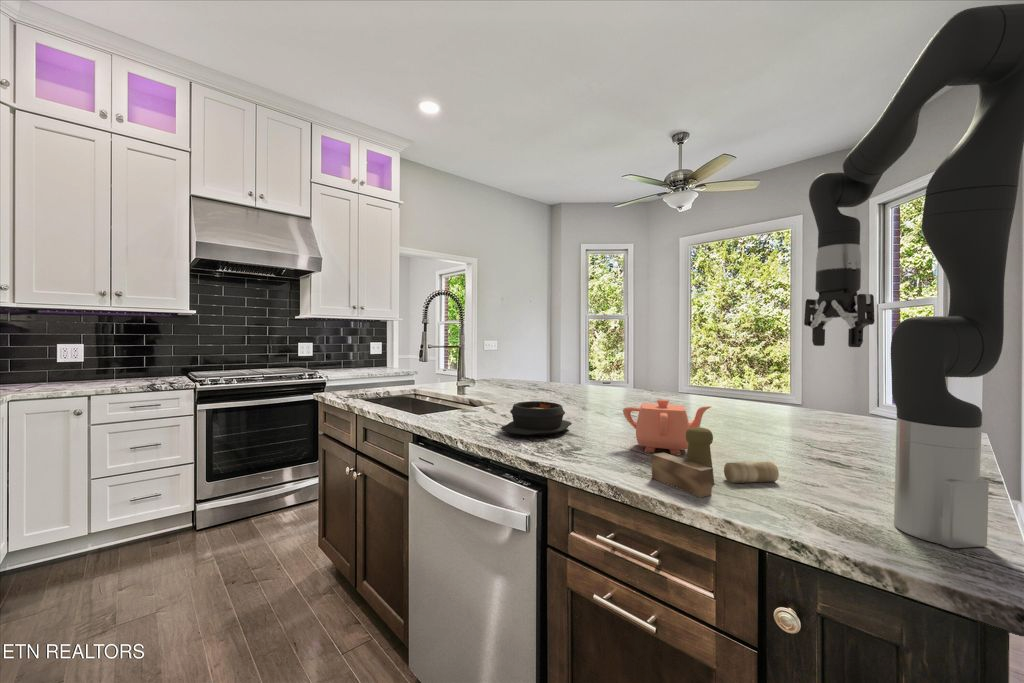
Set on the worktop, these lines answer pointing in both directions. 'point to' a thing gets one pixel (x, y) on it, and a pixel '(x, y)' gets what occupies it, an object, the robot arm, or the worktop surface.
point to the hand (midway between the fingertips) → (836, 346)
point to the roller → (751, 472)
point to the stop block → (682, 474)
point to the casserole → (536, 418)
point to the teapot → (663, 425)
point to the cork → (699, 446)
